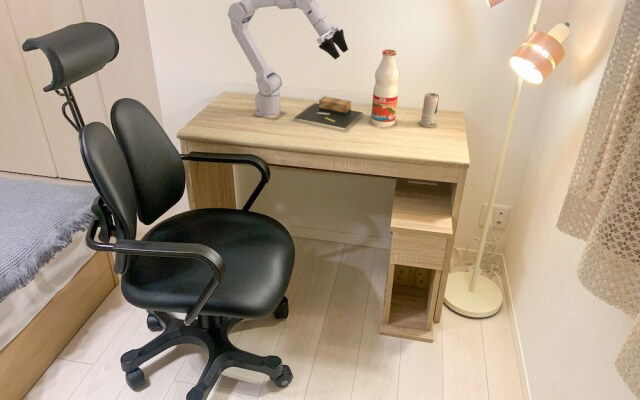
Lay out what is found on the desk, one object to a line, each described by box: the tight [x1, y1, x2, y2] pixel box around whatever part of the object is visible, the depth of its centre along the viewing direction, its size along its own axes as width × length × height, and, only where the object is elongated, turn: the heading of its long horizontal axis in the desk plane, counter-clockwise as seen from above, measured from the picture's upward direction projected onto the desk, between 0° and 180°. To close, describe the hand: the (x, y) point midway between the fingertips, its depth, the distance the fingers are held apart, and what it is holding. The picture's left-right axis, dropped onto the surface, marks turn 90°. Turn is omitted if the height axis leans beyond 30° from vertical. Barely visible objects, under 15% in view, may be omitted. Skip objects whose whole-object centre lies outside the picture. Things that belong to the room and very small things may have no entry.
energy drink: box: [420, 92, 440, 128], centre depth 184 cm, size 5×5×12 cm
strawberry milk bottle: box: [370, 49, 400, 126], centre depth 180 cm, size 9×9×28 cm
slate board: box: [294, 102, 364, 129], centre depth 191 cm, size 22×18×1 cm
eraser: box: [318, 96, 352, 115], centre depth 194 cm, size 12×5×4 cm, turn 64°
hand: (341, 54), depth 171 cm, fingers open, 7 cm apart
